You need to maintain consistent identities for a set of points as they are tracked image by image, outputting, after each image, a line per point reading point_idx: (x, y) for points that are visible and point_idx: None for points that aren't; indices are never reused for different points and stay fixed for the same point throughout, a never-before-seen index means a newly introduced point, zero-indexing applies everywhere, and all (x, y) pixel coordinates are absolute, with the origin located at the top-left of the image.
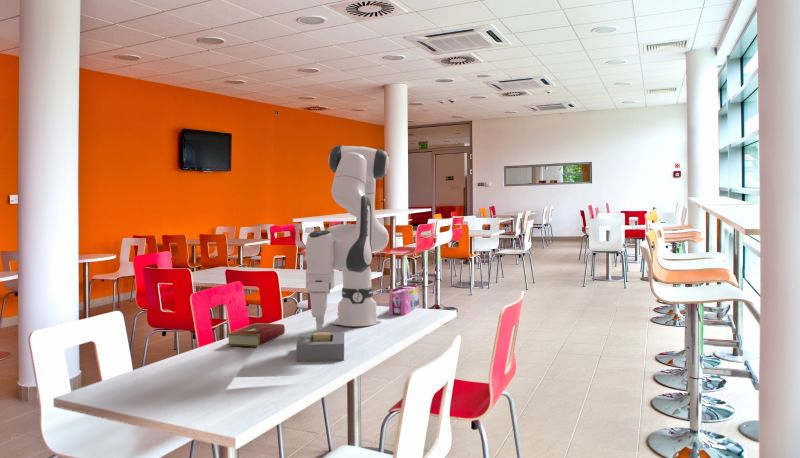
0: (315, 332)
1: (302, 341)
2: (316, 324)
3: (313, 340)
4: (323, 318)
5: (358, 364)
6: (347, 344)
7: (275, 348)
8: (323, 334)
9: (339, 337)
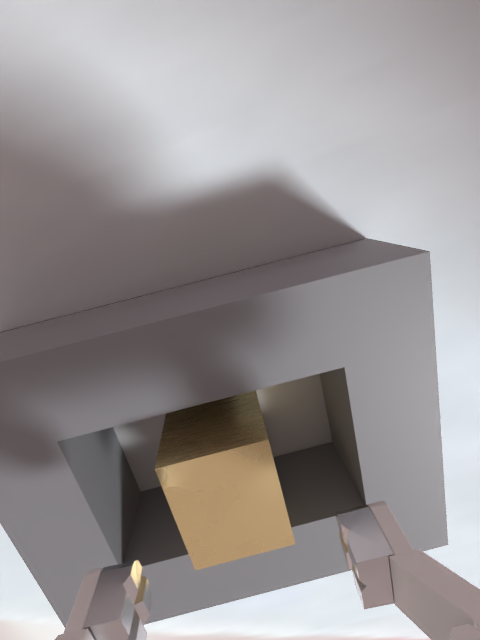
0: (266, 450)
1: (69, 384)
2: (67, 623)
3: (161, 437)
4: (397, 604)
5: (49, 611)
6: (469, 462)
7: (373, 19)
8: (188, 532)
9: (268, 568)
